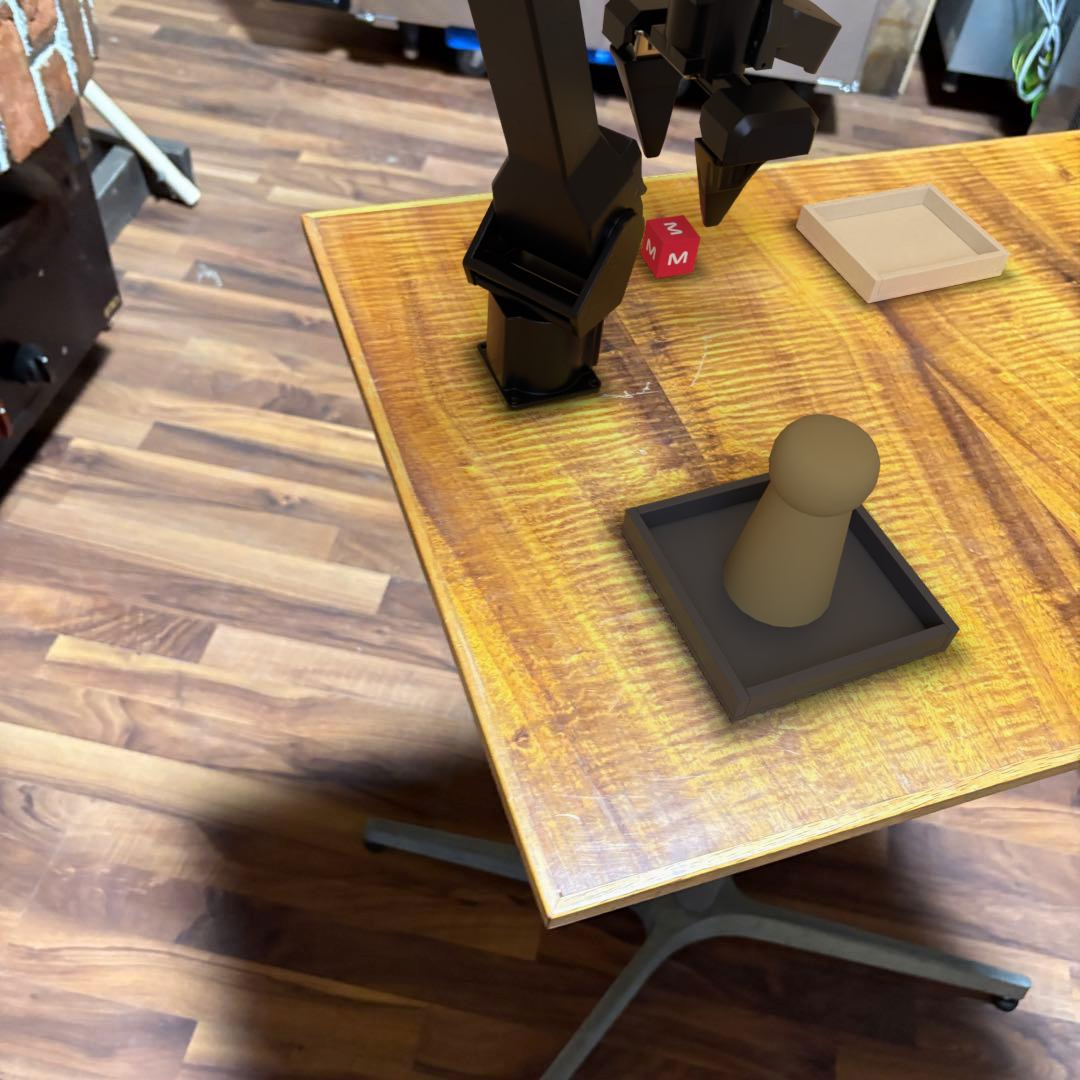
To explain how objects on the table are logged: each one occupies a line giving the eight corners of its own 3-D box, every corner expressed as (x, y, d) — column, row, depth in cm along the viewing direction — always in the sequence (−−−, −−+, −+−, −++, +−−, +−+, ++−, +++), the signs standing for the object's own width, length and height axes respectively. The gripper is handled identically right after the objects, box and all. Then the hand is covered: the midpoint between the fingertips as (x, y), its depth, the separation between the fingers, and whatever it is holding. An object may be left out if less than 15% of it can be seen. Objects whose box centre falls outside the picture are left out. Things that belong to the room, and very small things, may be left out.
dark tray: (731, 722, 51) (740, 701, 49) (620, 531, 59) (625, 508, 57) (946, 650, 55) (960, 628, 53) (816, 480, 62) (825, 457, 61)
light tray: (867, 303, 75) (876, 280, 73) (795, 227, 81) (802, 204, 79) (1000, 275, 78) (1011, 253, 77) (922, 204, 84) (931, 182, 83)
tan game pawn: (830, 637, 54) (900, 496, 46) (717, 614, 55) (766, 470, 46) (832, 552, 58) (897, 408, 50) (727, 531, 58) (773, 385, 50)
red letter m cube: (693, 272, 76) (700, 237, 73) (656, 278, 75) (662, 242, 73) (676, 249, 77) (683, 214, 75) (640, 255, 77) (646, 219, 74)
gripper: (932, 3, 57) (848, 245, 69) (765, -115, 68) (717, 112, 80) (759, 21, 54) (703, 272, 66) (613, -105, 65) (587, 130, 76)
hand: (680, 189), depth 72 cm, fingers open, 9 cm apart
